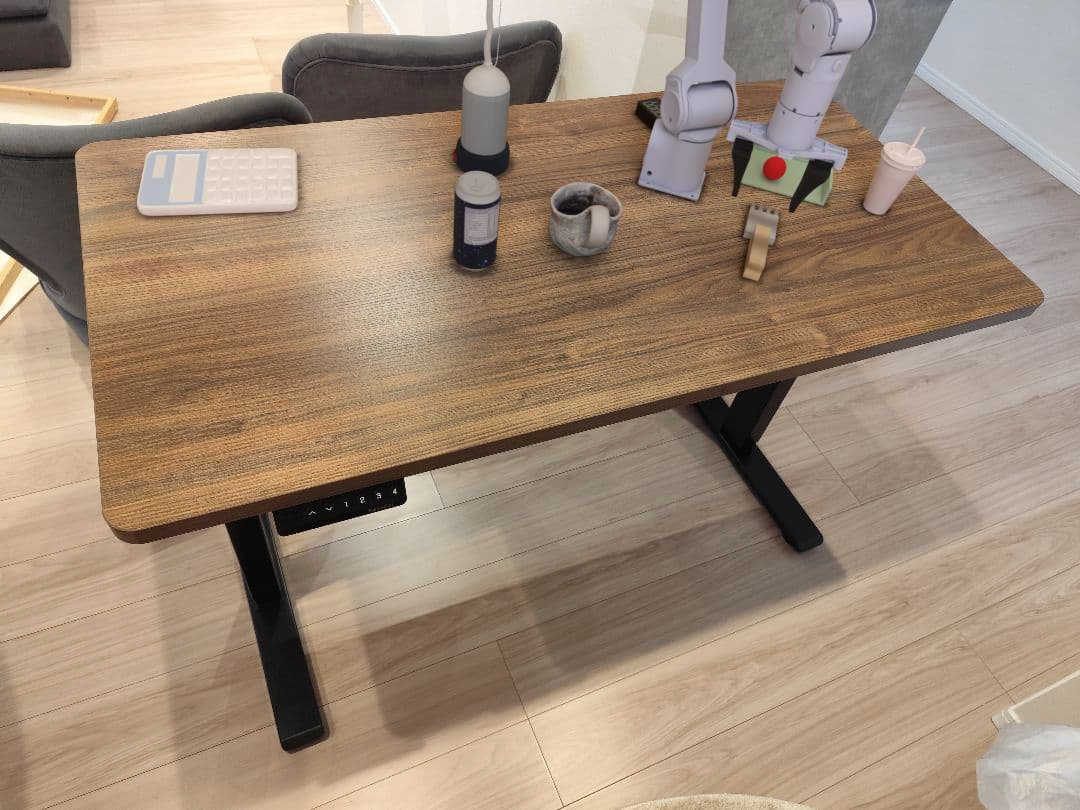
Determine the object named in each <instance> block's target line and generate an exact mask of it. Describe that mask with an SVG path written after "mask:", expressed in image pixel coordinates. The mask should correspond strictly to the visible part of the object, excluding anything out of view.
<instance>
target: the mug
mask: <svg viewBox="0 0 1080 810" xmlns="http://www.w3.org/2000/svg"><path fill="white" fill-rule="evenodd" d="M549 199H550V202H549V203H550V210H551V213H550V215H549V219H548V224H547V233H548V236H549V239H550V240H551V242H552V243H553V245H555V246H556V247H557V248H559V249H560V250H561V251H563V252H565V253H566V254H568V255H571V256H573V257H588V256H595V255H599V254H601V253H603V252H604V251H605V250H606V249H607V248H609V246H610V245H611V244H612V243H613V241H614V239H615V237H616V234H617V232H618V222H619V220H620V219H621V218H622V215H623V213H624V208H623V204H622V202H621V201H620V200H619V199H618V197H617V196H616V195H615V194H614V193H612V192H611V191H610V190H608V189H606V188H604V187H603V186H600V185H598V184H595V183H592V182H589V183H588V182H582V181H579V182H578V181H577V182H571V183H567V184H565V185H563V186H561V187H558V188H557V190H556V191H554V192H553V194H552V195H551V196H550V198H549Z"/></svg>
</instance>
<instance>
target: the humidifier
mask: <svg viewBox="0 0 1080 810" xmlns="http://www.w3.org/2000/svg"><path fill="white" fill-rule="evenodd" d="M485 11H486V17H485V18H486V19H485V20H486V32H485V35H484V41H483V57H484V61H483V63H482V64H481V65H477V66H476V67H473V68H472V69H470V71H469V72H468V73H467V74H466V75H465V77H464V79H463V82H462V83H463V85H462V91H461V119H460V120H461V121H460V122H461V123H460V136H459V137H458V138H457V141H456V146H455V148H454V151H453V155H452V156H453V160H454V162H455V164H456V166H457V167H458V168H459V170H461V171H462V172H464V173H467V172H470V171H482V172H486V173H489V174H491V175H493V176H494V177H498V176H501V175H503V173H505V172H506V171H507V170H508V169H509V165H510V156H511V149H510V144H509V141H508V140H507V137H508V126H509V125H508V124H509V113H510V101H511V100H510V99H511V84H510V82H509V79H508V77H507V75H506V74H505V73H504V72H503V71H502V70H500V69H499V68H498V67H496V66H497V63H498V58H499V49H497V51H496V61H495V64H494V65H493V62H492V54H491V53H492V52H491V46H492V45H491V43H492V39H493V35H494V31H495V30H494V29H495V28H494V27H495V25H494V18H493V16H494V15H493V13H494V12H493V11H494V0H486V10H485ZM501 11H502V2H500V4H499V15H498V26H499V35H498V39H497V40H498V41H497V48H499V45H500V39H501V38H500V37H501V33H502V28H501V23H500V19H501V13H502V12H501Z"/></svg>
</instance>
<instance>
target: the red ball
mask: <svg viewBox="0 0 1080 810" xmlns="http://www.w3.org/2000/svg"><path fill="white" fill-rule="evenodd" d="M785 172H786V162H785V161H784V160H783V159H782V158H780V157H778V156H773V157H770V158H769V159H767V160H766V161H765V163H764V165H763V173H764V175H765V177H766V178H768V179H770V180H777V179H780V178H781V177H782V176H783V175H784V174H785Z"/></svg>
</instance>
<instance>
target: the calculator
mask: <svg viewBox="0 0 1080 810" xmlns="http://www.w3.org/2000/svg"><path fill="white" fill-rule="evenodd" d="M143 163H144V164H143V169H142V175H141V178H140V184H139V188H138V193H137V198H136V207H137V210H138V212H139V213H140V214H141V215H143V216H147V217H163V216H165V217H166V216H168V217H169V216H193V215H196V216H197V215H223V214H251V213H254V214H255V213H257V214H258V213H278V212H279V213H281V212H282V213H283V212H284V213H285V212H292V211H294V210H296V209H297V207H298V203H299V188H298V187H299V185H298V183H299V182H298V181H299V179H298V178H299V177H298V175H299V174H298V154H297V152H296V150H295V149H293V148H291V147H257V148H254V147H253V148H250V147H249V148H199V149H197V148H195V149H193V148H192V149H191V148H190V149H189V148H188V149H154V150H150V151H149V152H147V154H146V155H145V159H144V162H143Z"/></svg>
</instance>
